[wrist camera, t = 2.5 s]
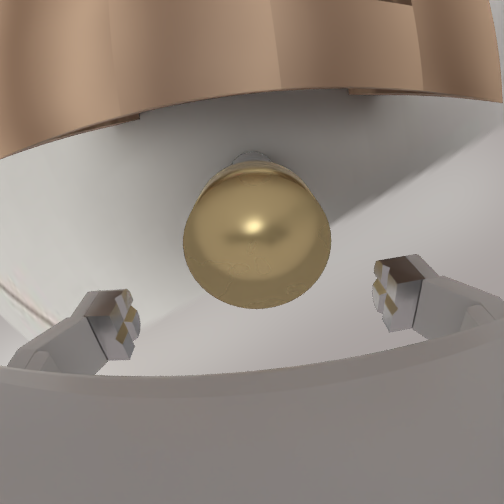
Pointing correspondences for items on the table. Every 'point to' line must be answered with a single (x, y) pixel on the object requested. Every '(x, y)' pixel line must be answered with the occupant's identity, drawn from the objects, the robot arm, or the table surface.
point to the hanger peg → (256, 235)
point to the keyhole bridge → (227, 56)
